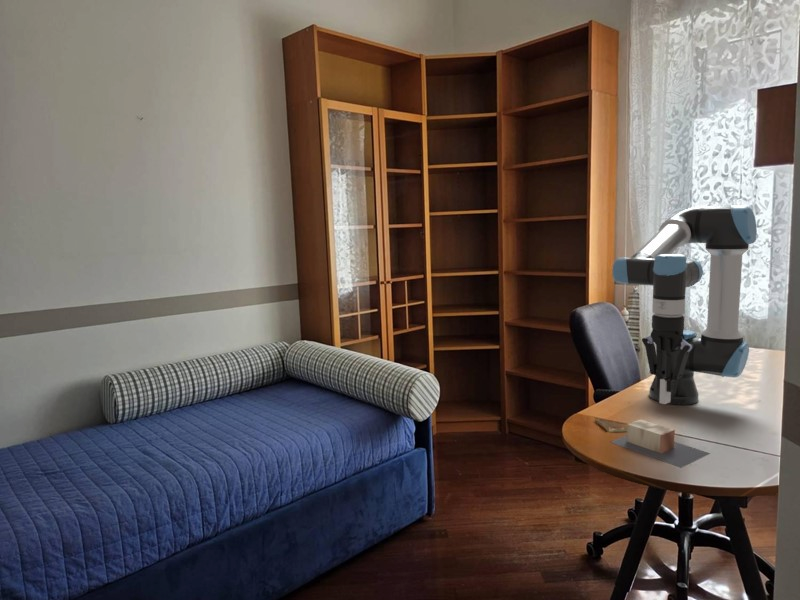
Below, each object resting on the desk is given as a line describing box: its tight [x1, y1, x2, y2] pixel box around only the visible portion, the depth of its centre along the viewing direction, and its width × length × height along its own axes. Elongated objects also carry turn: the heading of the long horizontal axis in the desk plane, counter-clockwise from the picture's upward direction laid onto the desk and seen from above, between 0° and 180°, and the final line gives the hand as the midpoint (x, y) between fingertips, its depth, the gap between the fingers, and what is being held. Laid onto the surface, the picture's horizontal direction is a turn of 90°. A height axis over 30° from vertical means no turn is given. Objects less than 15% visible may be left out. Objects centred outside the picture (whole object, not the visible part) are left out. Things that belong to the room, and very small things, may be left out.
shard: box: [594, 417, 627, 433], centre depth 165 cm, size 11×8×2 cm
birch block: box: [626, 419, 676, 453], centre depth 150 cm, size 6×5×10 cm
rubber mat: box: [610, 435, 711, 469], centre depth 148 cm, size 14×20×1 cm
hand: (664, 402), depth 146 cm, fingers closed
